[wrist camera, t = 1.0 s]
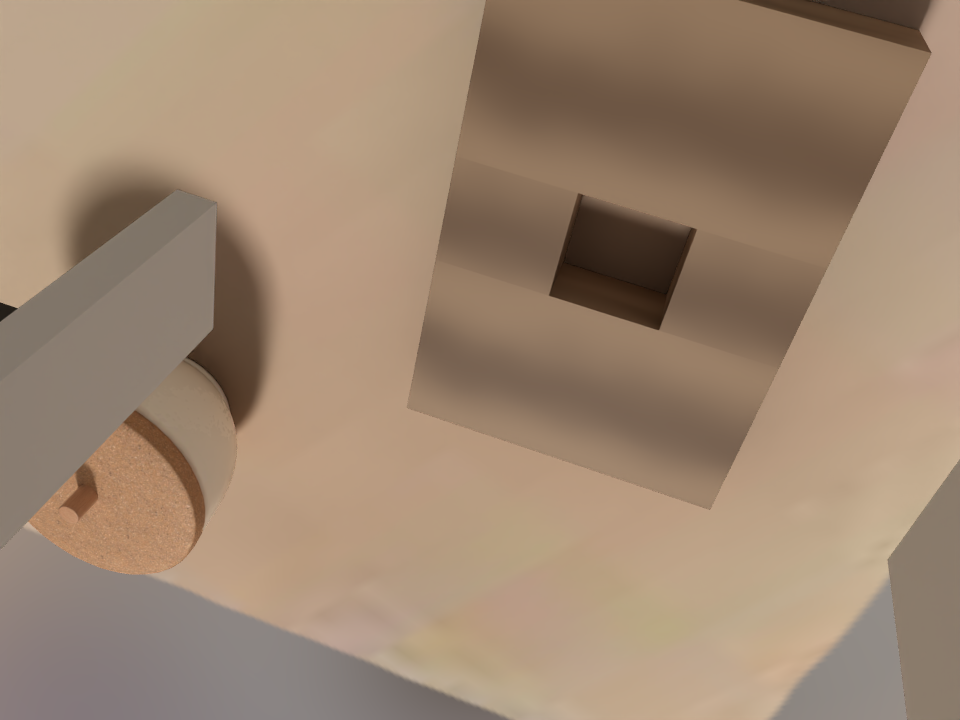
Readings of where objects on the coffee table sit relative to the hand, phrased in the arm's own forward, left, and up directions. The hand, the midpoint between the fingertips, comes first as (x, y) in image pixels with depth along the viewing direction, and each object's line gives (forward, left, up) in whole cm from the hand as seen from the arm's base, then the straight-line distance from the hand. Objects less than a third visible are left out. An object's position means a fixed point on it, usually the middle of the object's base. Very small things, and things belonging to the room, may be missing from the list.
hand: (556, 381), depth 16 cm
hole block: (+7, +1, -21) cm, 22 cm away
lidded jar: (+24, -19, -22) cm, 38 cm away
